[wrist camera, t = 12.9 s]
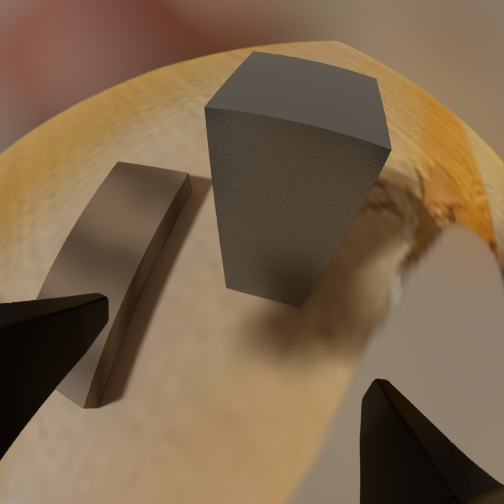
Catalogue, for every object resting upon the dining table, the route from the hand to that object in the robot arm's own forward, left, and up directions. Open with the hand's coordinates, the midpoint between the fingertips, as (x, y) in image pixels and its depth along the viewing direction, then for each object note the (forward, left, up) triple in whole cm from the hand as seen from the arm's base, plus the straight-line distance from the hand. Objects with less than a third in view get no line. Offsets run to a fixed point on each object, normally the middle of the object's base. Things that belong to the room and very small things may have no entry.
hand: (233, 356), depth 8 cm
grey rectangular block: (+6, -5, -9) cm, 12 cm away
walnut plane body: (+10, +7, -9) cm, 15 cm away
